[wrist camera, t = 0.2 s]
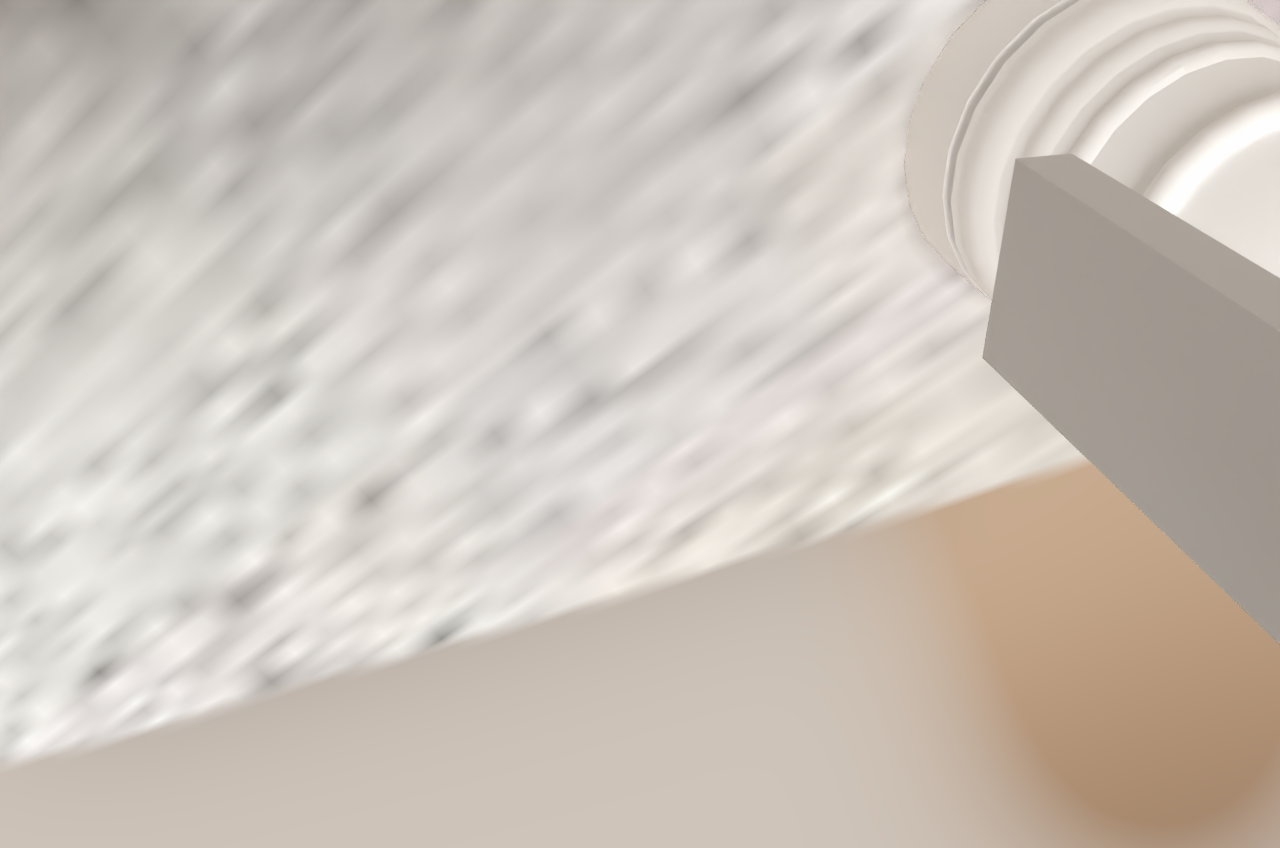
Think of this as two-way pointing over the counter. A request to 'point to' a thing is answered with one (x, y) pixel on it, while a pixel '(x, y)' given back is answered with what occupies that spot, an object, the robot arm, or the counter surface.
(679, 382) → the counter surface
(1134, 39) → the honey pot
